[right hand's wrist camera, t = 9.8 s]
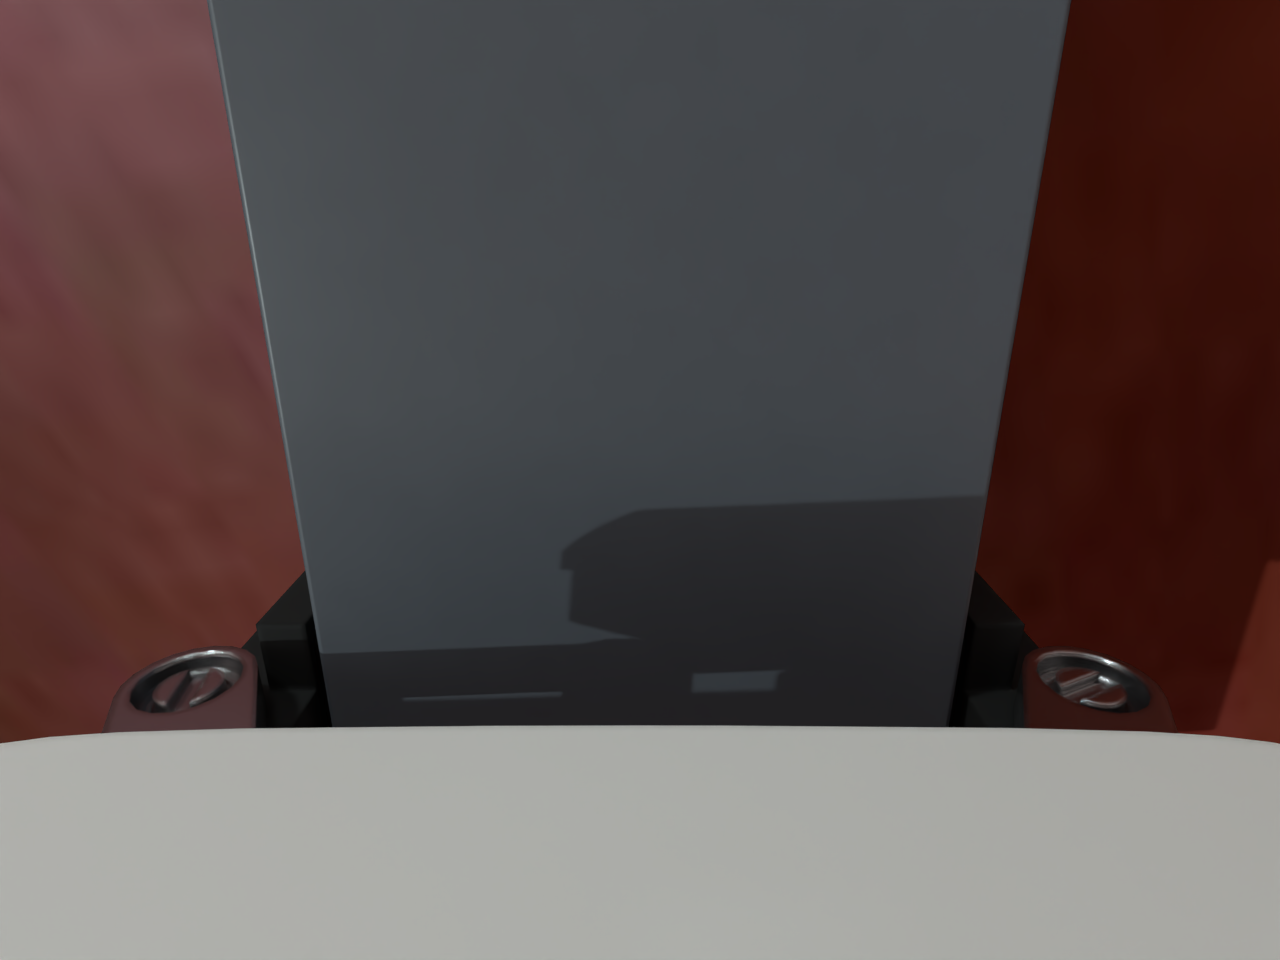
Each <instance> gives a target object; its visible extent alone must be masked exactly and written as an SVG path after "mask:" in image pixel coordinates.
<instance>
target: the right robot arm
mask: <svg viewBox="0 0 1280 960" xmlns="http://www.w3.org/2000/svg"><path fill="white" fill-rule="evenodd" d="M1024 626H1025V624H1024V623H1023V622H1022V621H1021V620H1020V619H1019V618H1018V617H1017V616H1016V615H1015V613H1014V612H1013V611H1012V610H1011V609H1010V608H1009V607H1008V606H1007V605H1006V604H1005V603H1004V601H1003V600H1002V599H1001V598H1000V597H999V596H998V595H997V594H996V593H995V592H994V591H993V589H992V588H991V587H990V586H989V585H988V584H987V583H986V582H985V581H984V580H983V578H982V577H981V576H980V575H979V574H978V573H977V572H976V571H975V573H974V579H973V585H972V591H971V597H970V603H969V609H968V615H967V621H966V626H965V632H964V638H963V644H962V650H961V656H960V662H959V668H958V674H957V680H956V686H955V692H954V698H953V703H952V709H951V715H950V721H949V727H839V726H685V725H614V726H426V727H332V722H331V716H330V710H329V704H328V699H327V693H326V687H325V681H324V675H323V670H322V664H321V658H320V652H319V646H318V641H317V635H316V629H315V623H314V617H313V612H312V606H311V600H310V594H309V588H308V583H307V577H306V571H304V572H303V574H302V575H301V576H300V577H299V578H298V579H297V580H296V581H295V582H294V583H293V584H292V586H291V587H290V588H289V589H288V590H287V591H286V592H285V593H284V594H283V595H282V596H281V598H280V599H279V600H278V601H277V602H276V603H275V604H274V605H273V606H272V607H271V609H270V610H269V611H268V612H267V613H266V614H265V615H264V616H263V617H262V618H261V619H260V621H259V622H258V623H257V624H256V628H257V631H256V632H255V633H254V635H253V636H252V637H251V638H250V639H249V640H248V641H247V642H246V644H245V645H244V646H243V647H242V648H237V647H233V646H210V647H203V648H196V649H191V650H188V651H184V652H180V653H177V654H173V655H171V656H168V657H166V658H163V659H161V660H159V661H156V662H154V663H152V664H150V665H148V666H147V667H145V668H143V669H142V670H140V671H138V672H137V673H135V674H134V675H132V676H131V677H130V678H129V679H128V680H127V681H126V682H124V683H123V684H122V685H121V686H120V688H119V689H118V691H117V693H116V694H115V696H114V697H113V700H112V703H111V706H110V709H109V712H108V715H107V718H106V721H105V724H104V727H103V730H102V733H100V734H87V735H73V736H59V737H47V738H39V739H32V740H24V741H17V742H9V743H2V744H0V960H1280V744H1278V743H1272V742H1265V741H1256V740H1248V739H1240V738H1231V737H1223V736H1210V735H1194V734H1180V733H1178V730H1177V727H1176V724H1175V721H1174V718H1173V715H1172V712H1171V709H1170V706H1169V703H1168V700H1167V697H1166V696H1165V694H1164V693H1163V691H1162V689H1161V688H1160V686H1159V685H1158V684H1157V683H1156V682H1154V681H1153V680H1152V679H1151V678H1150V677H1149V676H1148V675H1146V674H1145V673H1143V672H1142V671H1140V670H1138V669H1137V668H1135V667H1133V666H1132V665H1130V664H1128V663H1126V662H1124V661H1121V660H1119V659H1117V658H1114V657H1112V656H1109V655H1107V654H1103V653H1100V652H1096V651H1092V650H1089V649H1084V648H1077V647H1070V646H1047V647H1043V648H1039V647H1038V646H1037V645H1036V644H1035V643H1034V642H1033V641H1032V640H1031V639H1030V637H1029V636H1028V635H1027V634H1026V633H1025V632H1024Z"/></svg>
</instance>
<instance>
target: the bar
mask: <svg viewBox="0 0 1280 960" xmlns="http://www.w3.org/2000/svg"><path fill="white" fill-rule="evenodd" d="M207 3H208V9H209V15H210V20H211V26H212V32H213V38H214V44H215V49H216V55H217V61H218V67H219V72H220V78H221V84H222V90H223V96H224V101H225V107H226V113H227V119H228V125H229V130H230V136H231V142H232V148H233V154H234V159H235V165H236V171H237V177H238V183H239V188H240V194H241V200H242V206H243V212H244V217H245V223H246V229H247V235H248V241H249V246H250V252H251V258H252V264H253V270H254V275H255V281H256V287H257V293H258V299H259V304H260V310H261V316H262V322H263V328H264V333H265V339H266V345H267V351H268V357H269V362H270V368H271V374H272V380H273V386H274V391H275V397H276V403H277V409H278V414H279V420H280V426H281V432H282V438H283V443H284V449H285V455H286V461H287V467H288V472H289V478H290V484H291V490H292V496H293V501H294V507H295V513H296V519H297V525H298V530H299V536H300V542H301V548H302V554H303V559H304V565H305V571H306V577H307V583H308V588H309V594H310V600H311V606H312V612H313V617H314V623H315V629H316V635H317V641H318V646H319V652H320V658H321V664H322V670H323V675H324V681H325V687H326V693H327V699H328V704H329V710H330V716H331V722H332V727H426V726H614V725H685V726H839V727H949V721H950V715H951V709H952V703H953V698H954V692H955V686H956V680H957V674H958V668H959V662H960V656H961V650H962V644H963V638H964V632H965V626H966V621H967V615H968V609H969V603H970V597H971V591H972V585H973V579H974V573H975V567H976V561H977V555H978V549H979V543H980V538H981V532H982V526H983V520H984V514H985V508H986V502H987V496H988V490H989V484H990V478H991V472H992V466H993V460H994V455H995V449H996V443H997V437H998V431H999V425H1000V419H1001V413H1002V407H1003V401H1004V395H1005V389H1006V383H1007V378H1008V372H1009V366H1010V360H1011V354H1012V348H1013V342H1014V336H1015V330H1016V324H1017V318H1018V312H1019V306H1020V300H1021V295H1022V289H1023V283H1024V277H1025V271H1026V265H1027V259H1028V253H1029V247H1030V241H1031V235H1032V229H1033V223H1034V218H1035V212H1036V206H1037V200H1038V194H1039V188H1040V182H1041V176H1042V170H1043V164H1044V158H1045V152H1046V146H1047V140H1048V135H1049V129H1050V123H1051V117H1052V111H1053V105H1054V99H1055V93H1056V87H1057V81H1058V75H1059V69H1060V63H1061V58H1062V52H1063V46H1064V40H1065V34H1066V28H1067V22H1068V16H1069V10H1070V4H1071V0H207Z"/></svg>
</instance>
